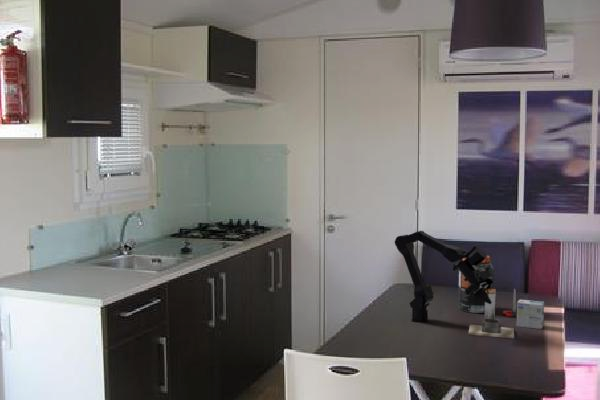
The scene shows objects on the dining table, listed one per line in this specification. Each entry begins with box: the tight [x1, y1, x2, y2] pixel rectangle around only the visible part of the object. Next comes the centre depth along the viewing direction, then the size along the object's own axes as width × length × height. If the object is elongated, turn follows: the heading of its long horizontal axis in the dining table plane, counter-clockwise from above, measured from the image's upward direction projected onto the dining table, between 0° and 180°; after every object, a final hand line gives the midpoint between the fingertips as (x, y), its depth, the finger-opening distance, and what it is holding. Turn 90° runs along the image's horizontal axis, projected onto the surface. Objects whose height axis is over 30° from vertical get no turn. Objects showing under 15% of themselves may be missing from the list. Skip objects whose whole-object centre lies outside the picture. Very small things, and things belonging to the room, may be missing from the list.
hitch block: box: [468, 317, 515, 339], centre depth 291 cm, size 18×12×5 cm, turn 74°
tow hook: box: [502, 288, 517, 318], centre depth 321 cm, size 8×13×9 cm
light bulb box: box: [516, 299, 545, 330], centre depth 302 cm, size 11×7×11 cm, turn 65°
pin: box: [484, 287, 497, 319], centre depth 288 cm, size 4×4×12 cm
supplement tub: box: [457, 255, 494, 314], centre depth 329 cm, size 16×16×26 cm
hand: (493, 302), depth 287 cm, fingers closed on pin, 4 cm apart
